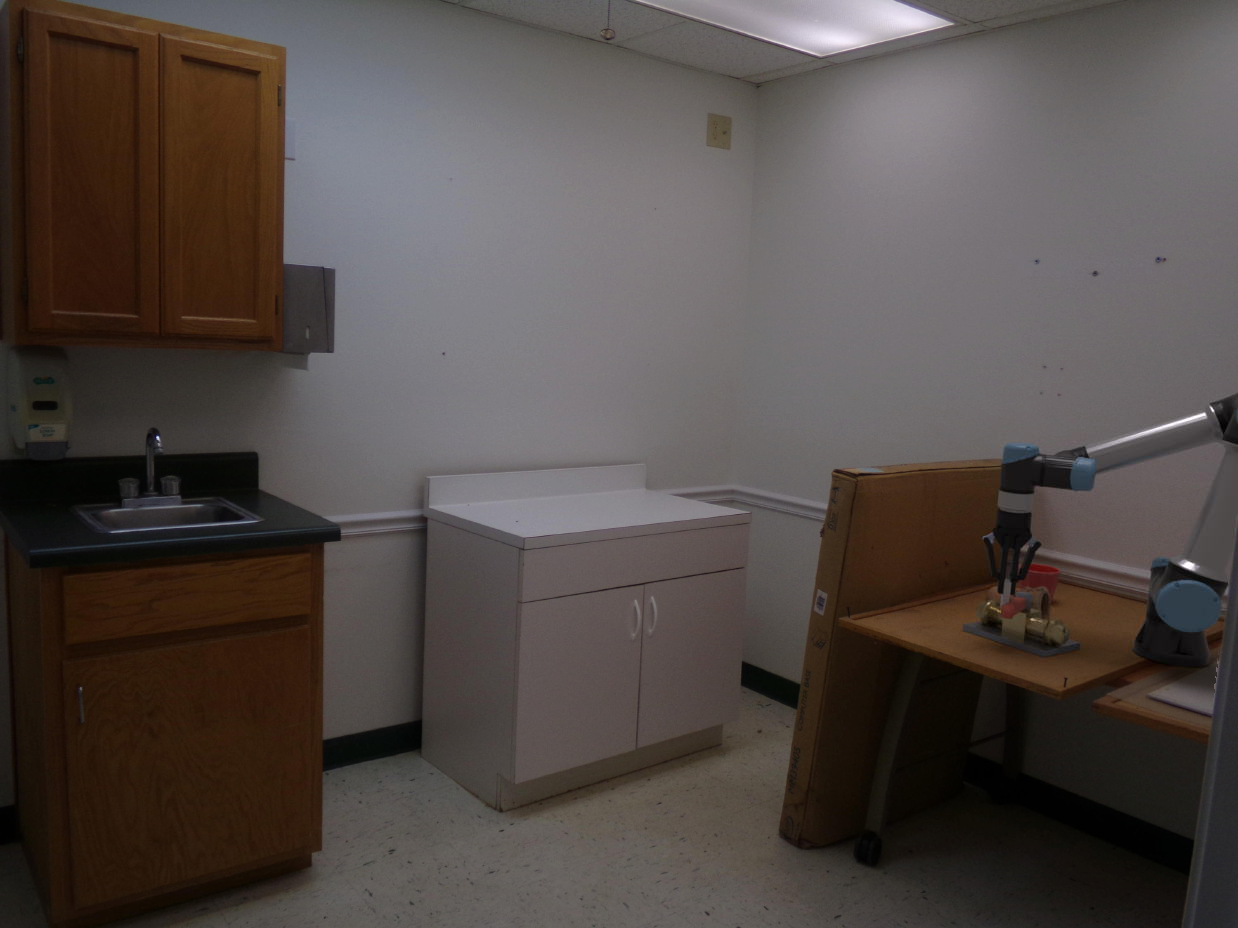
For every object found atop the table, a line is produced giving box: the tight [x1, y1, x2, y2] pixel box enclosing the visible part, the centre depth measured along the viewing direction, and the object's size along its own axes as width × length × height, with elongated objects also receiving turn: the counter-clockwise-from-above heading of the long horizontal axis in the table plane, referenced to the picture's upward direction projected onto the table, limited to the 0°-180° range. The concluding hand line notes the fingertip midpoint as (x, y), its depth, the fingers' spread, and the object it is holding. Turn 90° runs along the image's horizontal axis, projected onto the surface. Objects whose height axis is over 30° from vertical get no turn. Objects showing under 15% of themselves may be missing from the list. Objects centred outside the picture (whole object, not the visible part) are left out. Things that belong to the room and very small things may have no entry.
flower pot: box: [1018, 563, 1061, 603], centre depth 256 cm, size 11×11×10 cm
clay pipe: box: [985, 585, 1052, 621], centre depth 236 cm, size 19×11×15 cm
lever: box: [1000, 591, 1032, 619], centre depth 214 cm, size 4×16×4 cm, turn 141°
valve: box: [962, 600, 1081, 658], centre depth 220 cm, size 22×14×8 cm, turn 32°
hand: (1004, 607), depth 215 cm, fingers closed
